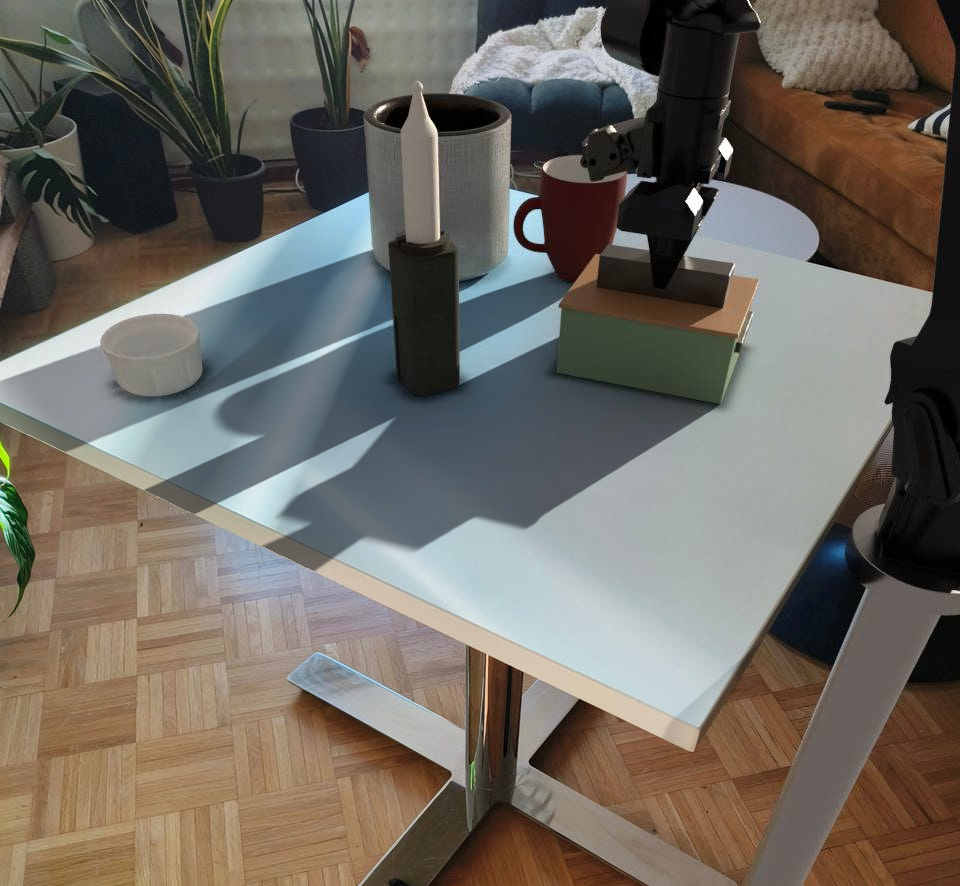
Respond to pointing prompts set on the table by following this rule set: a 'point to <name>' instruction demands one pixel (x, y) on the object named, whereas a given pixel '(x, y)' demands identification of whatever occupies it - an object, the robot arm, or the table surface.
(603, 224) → the mug
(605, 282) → the stick
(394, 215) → the planter
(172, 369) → the ramekin
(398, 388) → the table surface
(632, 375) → the bread box
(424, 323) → the candle
